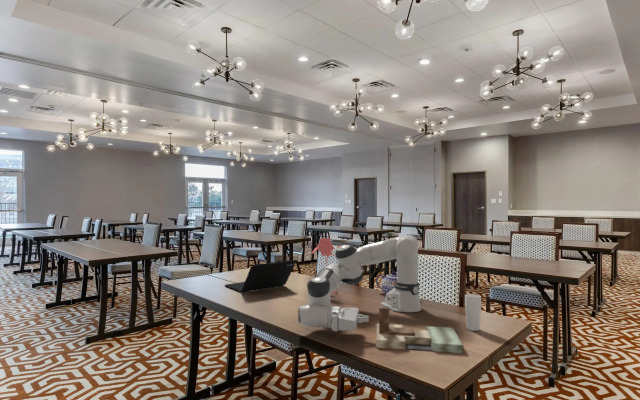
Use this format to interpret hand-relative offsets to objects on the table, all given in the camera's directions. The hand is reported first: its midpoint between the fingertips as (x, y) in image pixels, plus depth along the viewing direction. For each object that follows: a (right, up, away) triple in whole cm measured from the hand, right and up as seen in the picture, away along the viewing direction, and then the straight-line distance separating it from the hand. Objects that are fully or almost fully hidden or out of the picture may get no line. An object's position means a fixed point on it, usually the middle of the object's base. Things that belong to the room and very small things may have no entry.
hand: (368, 318), depth 155 cm
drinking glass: (+48, -9, +11) cm, 50 cm away
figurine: (-17, -9, +79) cm, 81 cm away
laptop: (-60, -9, +92) cm, 110 cm away
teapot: (+25, -9, +73) cm, 78 cm away
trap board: (+19, -8, -3) cm, 21 cm away
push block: (+11, -5, -2) cm, 12 cm away
